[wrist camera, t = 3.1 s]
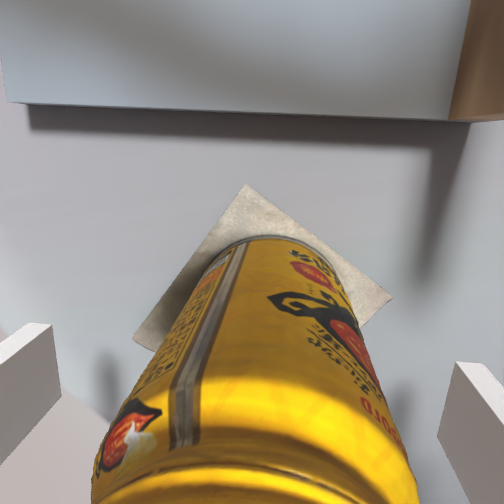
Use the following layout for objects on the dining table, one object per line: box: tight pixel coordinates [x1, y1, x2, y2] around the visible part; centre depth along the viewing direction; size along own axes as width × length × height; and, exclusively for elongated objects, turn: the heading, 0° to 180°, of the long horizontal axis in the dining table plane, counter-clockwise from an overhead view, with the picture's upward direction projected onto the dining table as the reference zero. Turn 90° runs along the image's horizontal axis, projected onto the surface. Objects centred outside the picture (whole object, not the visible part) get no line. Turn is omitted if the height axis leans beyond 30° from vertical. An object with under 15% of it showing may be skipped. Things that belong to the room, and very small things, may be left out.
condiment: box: [91, 184, 420, 504], centre depth 10 cm, size 7×8×12 cm
